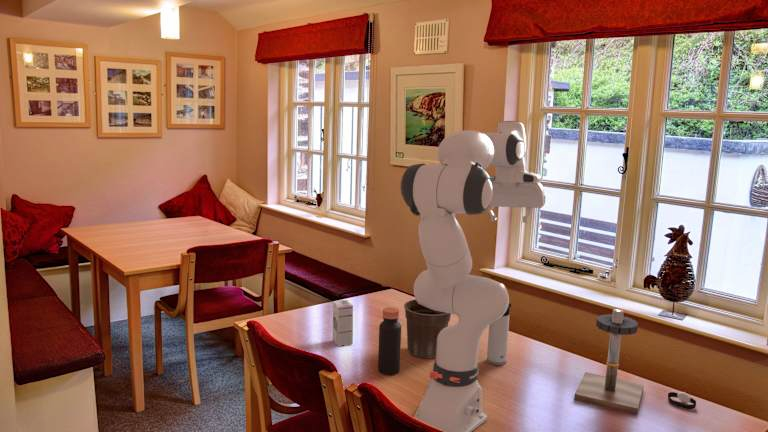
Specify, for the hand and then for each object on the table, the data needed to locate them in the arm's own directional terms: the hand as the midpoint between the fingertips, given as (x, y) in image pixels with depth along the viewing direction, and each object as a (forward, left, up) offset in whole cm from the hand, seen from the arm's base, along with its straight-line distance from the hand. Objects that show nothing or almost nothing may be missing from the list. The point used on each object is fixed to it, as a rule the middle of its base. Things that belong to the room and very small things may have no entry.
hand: (509, 221), depth 192 cm
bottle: (-19, +30, -48) cm, 60 cm away
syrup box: (-7, +54, -48) cm, 72 cm away
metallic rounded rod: (0, -33, -46) cm, 57 cm away
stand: (0, -33, -48) cm, 58 cm away
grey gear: (0, -33, -27) cm, 43 cm away
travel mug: (+6, +3, -48) cm, 49 cm away
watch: (+5, -52, -48) cm, 71 cm away
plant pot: (+1, +26, -48) cm, 55 cm away
